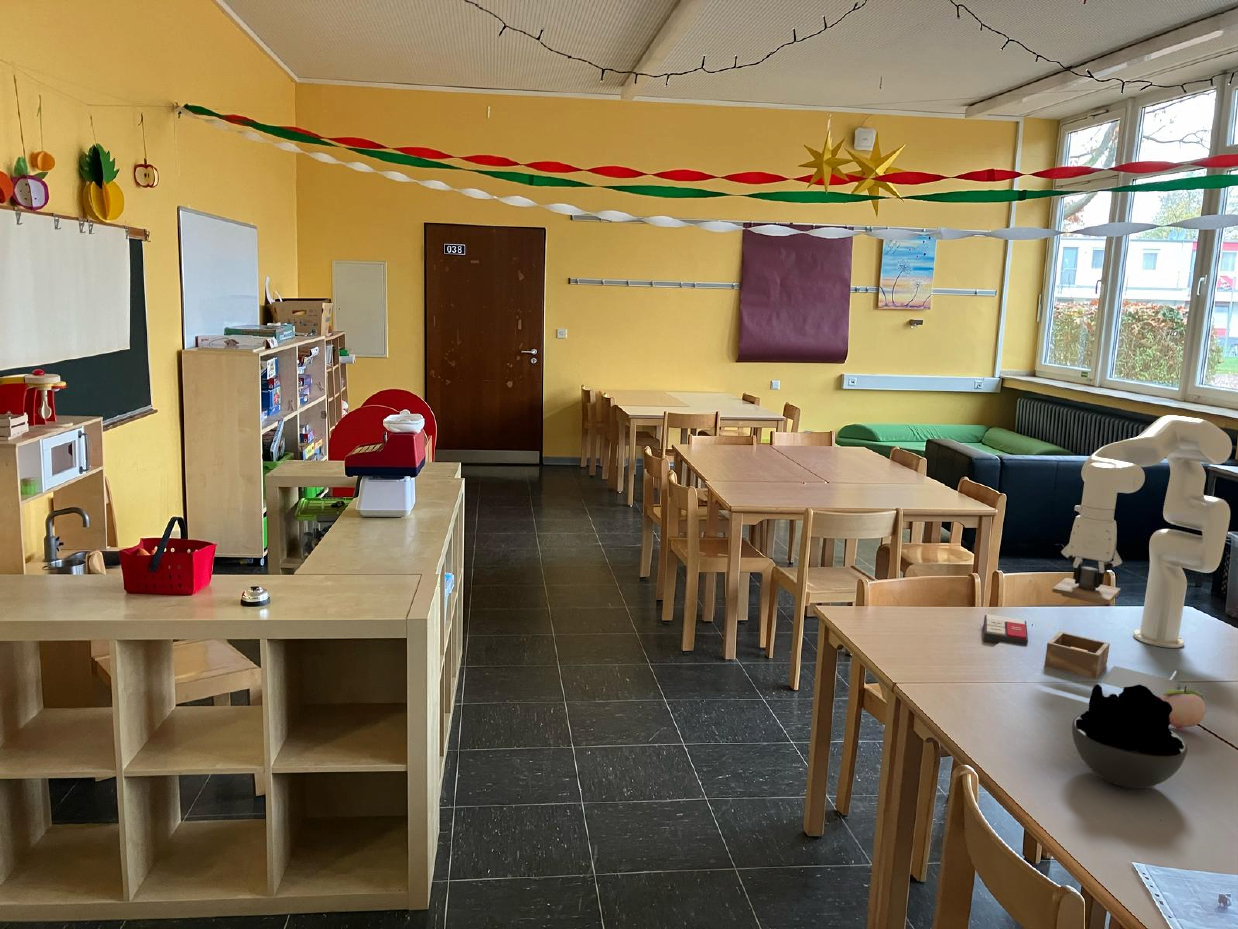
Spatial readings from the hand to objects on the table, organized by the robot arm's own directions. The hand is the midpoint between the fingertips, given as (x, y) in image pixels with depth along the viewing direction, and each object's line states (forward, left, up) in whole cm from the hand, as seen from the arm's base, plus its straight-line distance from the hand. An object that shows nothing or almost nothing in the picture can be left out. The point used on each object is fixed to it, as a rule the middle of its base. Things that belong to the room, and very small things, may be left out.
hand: (1087, 584), depth 250 cm
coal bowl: (+59, +22, -23) cm, 67 cm away
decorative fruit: (+22, +27, -23) cm, 42 cm away
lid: (0, 0, -3) cm, 3 cm away
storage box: (0, 0, -22) cm, 22 cm away
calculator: (-12, -21, -23) cm, 34 cm away
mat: (0, +15, -22) cm, 27 cm away
